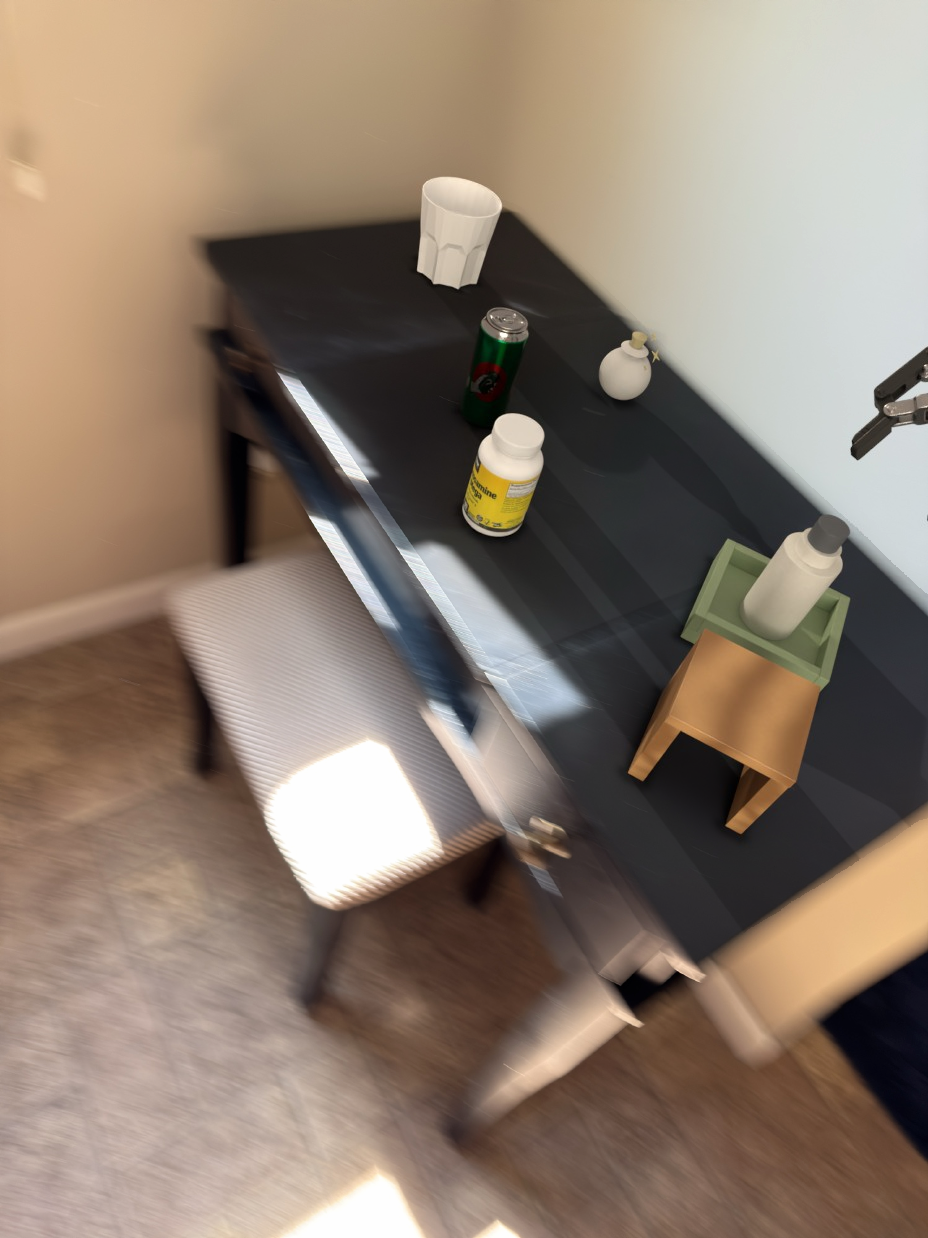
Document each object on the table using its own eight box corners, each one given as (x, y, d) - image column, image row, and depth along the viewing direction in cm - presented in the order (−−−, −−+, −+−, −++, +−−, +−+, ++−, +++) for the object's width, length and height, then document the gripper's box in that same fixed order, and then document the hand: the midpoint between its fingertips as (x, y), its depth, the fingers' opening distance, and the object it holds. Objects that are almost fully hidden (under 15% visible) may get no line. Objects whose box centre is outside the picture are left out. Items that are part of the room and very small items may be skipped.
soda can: (510, 427, 96) (539, 332, 87) (468, 431, 94) (494, 335, 85) (493, 398, 99) (519, 304, 90) (452, 402, 97) (475, 305, 88)
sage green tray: (832, 620, 87) (850, 597, 84) (809, 703, 79) (829, 681, 77) (713, 561, 89) (727, 537, 86) (680, 637, 81) (695, 613, 78)
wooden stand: (767, 745, 75) (821, 686, 68) (740, 836, 69) (796, 781, 62) (662, 690, 77) (705, 627, 70) (626, 775, 70) (669, 714, 63)
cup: (444, 299, 110) (460, 223, 102) (394, 259, 114) (405, 183, 106) (499, 282, 115) (518, 209, 108) (450, 244, 119) (464, 171, 112)
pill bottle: (451, 500, 86) (474, 410, 78) (504, 491, 89) (533, 403, 81) (477, 544, 83) (504, 456, 75) (532, 533, 86) (564, 447, 78)
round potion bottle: (624, 377, 107) (654, 304, 100) (655, 415, 103) (688, 342, 96) (583, 380, 105) (610, 306, 97) (612, 420, 101) (643, 346, 93)
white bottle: (797, 613, 84) (869, 522, 75) (786, 649, 81) (859, 558, 71) (746, 588, 85) (810, 494, 76) (733, 622, 82) (798, 529, 72)
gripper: (988, 272, 69) (826, 416, 73) (1147, 376, 63) (961, 529, 66) (980, 321, 76) (832, 451, 79) (1123, 420, 70) (955, 557, 73)
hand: (891, 486), depth 73 cm, fingers open, 8 cm apart
